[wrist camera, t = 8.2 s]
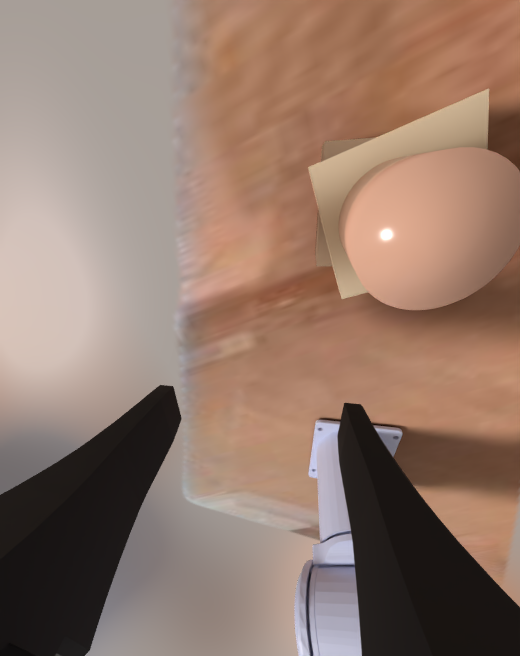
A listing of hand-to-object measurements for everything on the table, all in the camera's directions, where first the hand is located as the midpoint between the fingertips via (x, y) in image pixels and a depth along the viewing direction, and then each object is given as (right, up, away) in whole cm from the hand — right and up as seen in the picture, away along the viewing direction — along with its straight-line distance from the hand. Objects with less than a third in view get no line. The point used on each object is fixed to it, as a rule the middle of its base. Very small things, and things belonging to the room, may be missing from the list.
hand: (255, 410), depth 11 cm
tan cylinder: (+6, +8, 0) cm, 10 cm away
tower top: (+6, +10, +2) cm, 12 cm away
